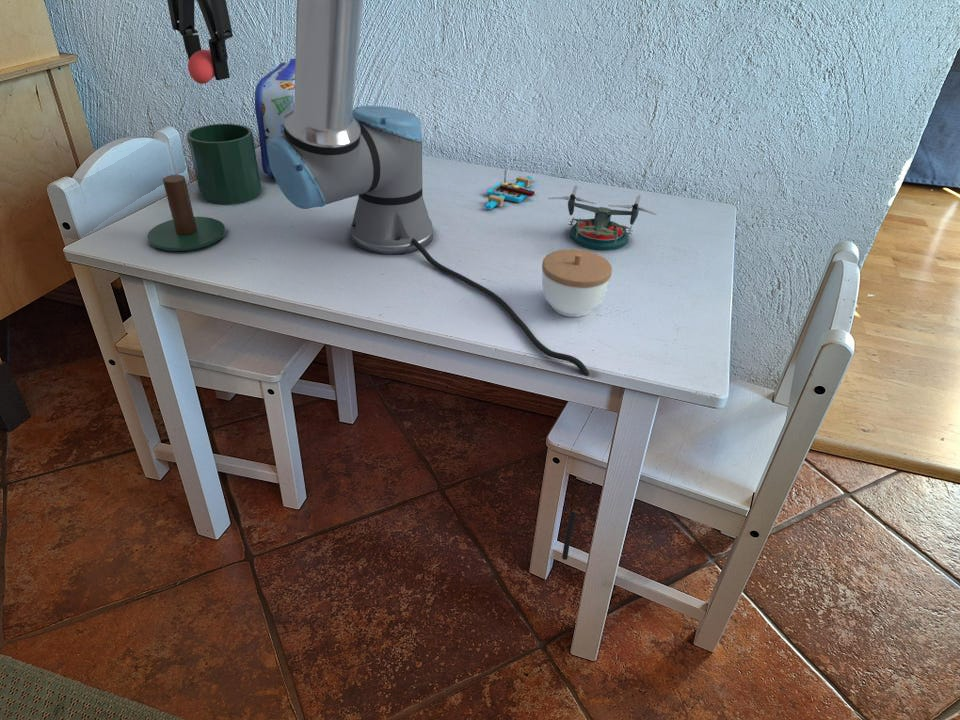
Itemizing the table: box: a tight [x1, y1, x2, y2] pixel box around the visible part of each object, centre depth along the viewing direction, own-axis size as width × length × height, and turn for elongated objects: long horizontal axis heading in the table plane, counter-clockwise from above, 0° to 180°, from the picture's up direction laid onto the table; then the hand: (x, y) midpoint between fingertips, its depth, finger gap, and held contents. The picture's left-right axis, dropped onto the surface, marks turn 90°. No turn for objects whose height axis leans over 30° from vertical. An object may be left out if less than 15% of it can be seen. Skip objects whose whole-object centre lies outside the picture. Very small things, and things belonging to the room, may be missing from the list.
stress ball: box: [187, 49, 215, 85], centre depth 122 cm, size 5×9×6 cm
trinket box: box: [541, 248, 613, 318], centre depth 103 cm, size 11×11×9 cm
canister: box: [186, 123, 262, 205], centre depth 134 cm, size 12×12×12 cm
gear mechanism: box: [485, 168, 536, 210], centre depth 140 cm, size 20×5×9 cm
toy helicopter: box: [547, 185, 658, 251], centre depth 123 cm, size 20×15×8 cm
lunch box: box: [254, 57, 296, 177], centre depth 146 cm, size 28×10×22 cm, turn 1°
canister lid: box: [147, 174, 226, 252], centre depth 117 cm, size 13×13×11 cm
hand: (210, 75), depth 124 cm, fingers closed on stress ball, 6 cm apart
